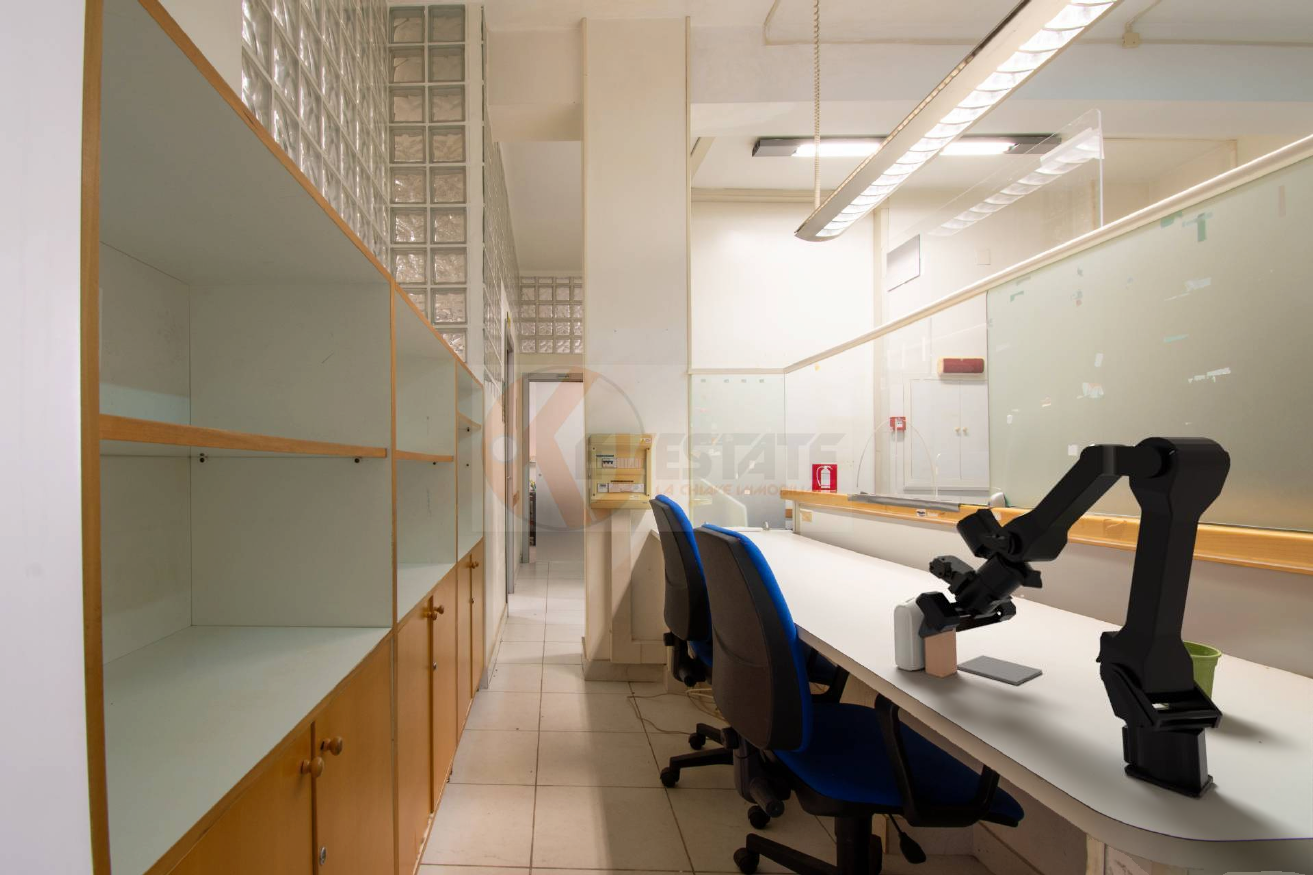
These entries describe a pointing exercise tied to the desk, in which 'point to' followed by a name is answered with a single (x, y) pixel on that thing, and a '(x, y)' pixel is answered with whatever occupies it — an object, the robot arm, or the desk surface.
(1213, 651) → the plant pot
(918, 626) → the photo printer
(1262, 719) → the desk surface
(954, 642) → the tan rectangular block
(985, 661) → the pad
